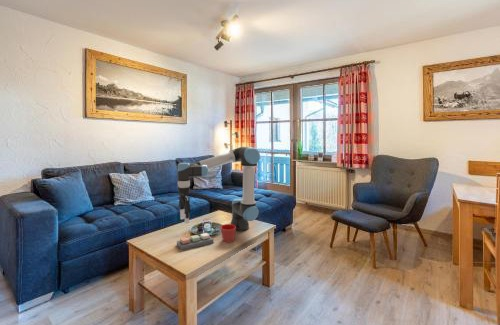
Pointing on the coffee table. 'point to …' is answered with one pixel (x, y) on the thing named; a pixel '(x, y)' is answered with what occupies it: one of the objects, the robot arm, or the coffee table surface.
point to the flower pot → (228, 232)
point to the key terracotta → (185, 240)
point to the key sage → (195, 238)
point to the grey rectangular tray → (194, 243)
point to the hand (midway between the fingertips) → (184, 220)
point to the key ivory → (205, 236)
